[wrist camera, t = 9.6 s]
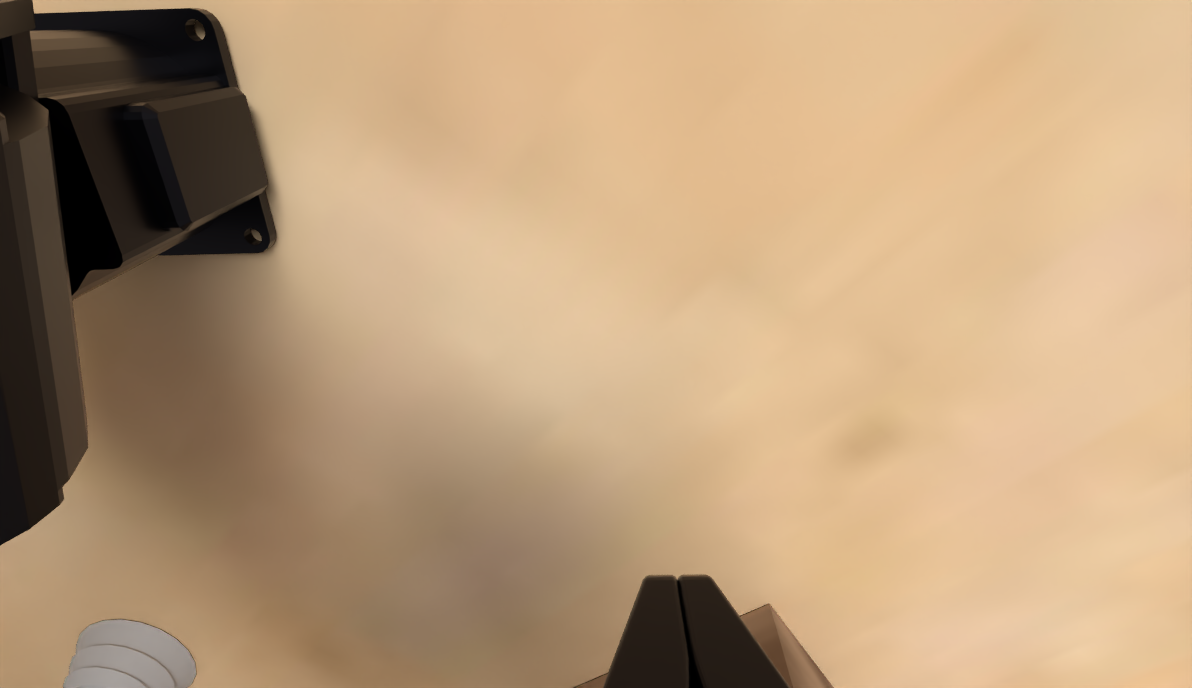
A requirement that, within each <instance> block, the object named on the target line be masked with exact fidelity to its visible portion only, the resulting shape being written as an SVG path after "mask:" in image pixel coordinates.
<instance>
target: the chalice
mask: <svg viewBox="0 0 1192 688" xmlns="http://www.w3.org/2000/svg"><path fill="white" fill-rule="evenodd" d="M195 676H196V666H195V661H194V660H193V658H192V656H191V654H190V653H189V651H188V650H187V649H186V648H185V647H184V646H183V645H182V644H181V643H180V642H179V641H178V640H177V639H176V638H174V637H172V636H170V635H169V634H167V633H165V632H164V631H162V630H160V629H158V628H155V627H152V626H150V625H147V624H144V623H141V622H135V621H129V620H122V619H119V620H103V621H100V622H98V623H95V624H92V625H89V626H88V627H87V628H86V629H85V630H84V631H82V632H81V633H80V635H79V638H78V641H77V644H76V654H75V655H74V656H73V657H72V660H71V663H70V666H69V675H68V676H67V677H66V678H65V681H64V684H63V688H187V687H188V686H190V685H191V684H192V682H193V680H194V678H195Z"/></svg>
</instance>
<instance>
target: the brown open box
mask: <svg viewBox="0 0 1192 688" xmlns="http://www.w3.org/2000/svg"><path fill="white" fill-rule="evenodd" d="M740 618H741V619H742V621H743V622H744V623H745V625H746V626H747V628H748V629H749V630H750V632H751V633H752V635H753V636H754V637H755V639H756V640H757V642H758V643H759V644H760V646H761V647H762V649H763V650H764V651H765V653H766V654H767V656H768V657H769V658H770V660H771V661H772V663H773V664H774V665H775V667H776V668H777V669H778V671H779V672H780V674H781V675H782V676H783V678H784V679H785V681H786V682H787V683H788V685H789V686H790V688H833V686H832V685H831V684H830V682H829V681H828V680H827V678H826V677H825V676H824V674H823V673H822V672H821V671H820V669H819V668H818V667H817V665H816V664H815V663H814V661H813V660H812V659H811V657H810V656H809V655H808V654H807V652H806V651H805V650H804V648H803V647H802V646H801V644H800V643H799V642H798V640H797V639H796V638H795V637H794V635H793V634H792V633H791V631H790V630H789V629H788V627H787V626H786V625H785V623H784V622H783V621H782V620H781V618H780V617H779V616H778V614H777V613H776V612H775V610H774V609H773V608H772V606H771V605H770V604H768V605H766V606H763V607H761V608H759V609H756V610H754V611H752V612H749V613H747V614H745V615H742V616H740ZM607 675H608V674H605V675H603V676H601V677H598V678H596V679H594V680H591V681H589V682H587V683H584V684H582V685H580V686H577V687H575V688H603V685H604V683H605V680H606V677H607Z"/></svg>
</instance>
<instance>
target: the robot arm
mask: <svg viewBox="0 0 1192 688" xmlns="http://www.w3.org/2000/svg"><path fill="white" fill-rule="evenodd" d="M196 20H198V21H199V22H200V23H201V24H202V25H203V26H204V28H205V37H204V39H203V40H202V39H200V38H199V37H198V36H197V35H196V33H195V31H194V24H195V22H196ZM267 185H268V180H267V176H266V172H265V169H264V165H263V161H262V157H261V153H260V149H259V145H258V141H257V138H256V134H255V130H254V126H253V122H252V118H251V114H250V110H249V107H248V103H247V99H246V96H245V95H244V94H243V93H242V92H241V91H240V90H239V89H238V86H237V82H236V78H235V75H234V71H233V67H232V63H231V59H230V56H229V52H228V48H227V44H226V40H225V36H224V33H223V29H222V27H221V24H220V22H219V21H218V19H217V18H216V17H215V16H214V15H213V14H212V13H210V12H208V11H207V10H203V9H197V8H184V9H155V10H126V11H97V12H69V13H40V14H34V10H33V2H32V0H0V545H2V544H3V543H5V542H7V541H9V540H11V539H12V538H14V537H16V536H18V535H20V534H21V533H23V532H25V531H27V530H29V529H30V528H32V527H33V526H34V525H35V524H37V523H38V522H39V521H40V520H42V519H43V518H44V517H45V516H46V515H48V514H49V513H50V512H51V511H53V510H54V509H55V508H56V507H58V506H59V505H60V504H61V502H62V501H63V499H64V495H63V488H62V487H63V485H64V484H65V483H66V482H67V481H68V480H69V479H70V477H71V476H72V474H73V472H74V471H75V469H76V467H77V465H78V464H79V462H80V460H81V459H82V457H83V455H84V454H85V452H86V450H87V448H88V431H87V415H86V407H85V399H84V391H83V383H82V375H81V367H80V359H79V351H78V343H77V335H76V327H75V319H74V311H73V303H72V300H74V299H76V298H77V297H79V296H81V295H83V294H85V293H87V292H89V291H91V290H93V289H94V288H96V287H98V286H100V285H102V284H104V283H106V282H108V281H109V280H111V279H113V278H115V277H117V276H119V275H121V274H123V273H124V272H126V271H128V270H130V269H132V268H134V267H136V266H138V265H140V264H141V263H143V262H145V261H147V260H149V259H151V258H153V257H155V256H158V255H196V254H235V253H259V252H263V251H265V250H266V249H268V248H269V247H271V246H272V245H273V244H274V242H275V240H276V231H275V227H274V224H273V220H272V216H271V212H270V208H269V205H268V201H267V197H266V193H265V188H266V187H267ZM251 228H252V229H256V230H257V231H258V232H259V233H260V235H261V236H262V241H259V240H256V239H255V238H254V237H253V236H252V234H251ZM603 688H790V686H789V685H788V683H787V682H786V681H785V679H784V678H783V676H782V675H781V674H780V672H779V671H778V669H777V668H776V667H775V665H774V664H773V663H772V661H771V660H770V658H769V657H768V656H767V654H766V653H765V651H764V650H763V649H762V647H761V646H760V644H759V643H758V642H757V640H756V639H755V637H754V636H753V635H752V633H751V632H750V630H749V629H748V628H747V626H746V625H745V623H744V622H743V621H742V619H741V618H740V616H739V615H738V614H737V612H736V611H735V609H734V608H733V607H732V605H731V604H730V602H729V601H728V600H727V598H726V597H725V595H724V594H723V593H722V591H721V590H720V588H719V587H718V586H717V584H716V583H715V582H714V580H713V579H712V578H711V577H710V576H708V575H681V576H680V577H678V579H676V577H675V576H673V575H649V576H646V577H645V578H644V579H643V581H642V584H641V587H640V589H639V592H638V595H637V597H636V600H635V603H634V605H633V608H632V611H631V613H630V616H629V619H628V621H627V624H626V627H625V629H624V632H623V635H622V637H621V640H620V643H619V645H618V648H617V651H616V653H615V656H614V659H613V661H612V664H611V667H610V669H609V672H608V675H607V677H606V680H605V683H604V685H603Z"/></svg>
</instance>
